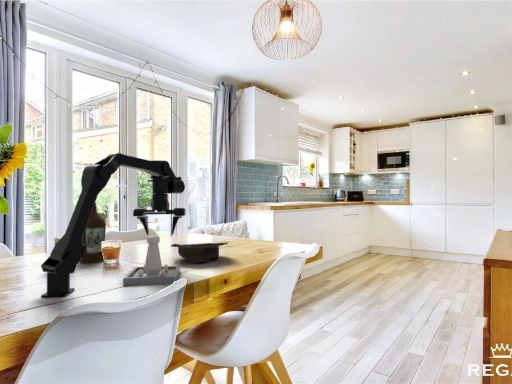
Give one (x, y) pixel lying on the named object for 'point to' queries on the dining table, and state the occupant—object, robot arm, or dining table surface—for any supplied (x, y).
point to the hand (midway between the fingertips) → (160, 234)
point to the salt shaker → (153, 256)
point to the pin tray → (152, 276)
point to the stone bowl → (199, 251)
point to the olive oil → (94, 238)
